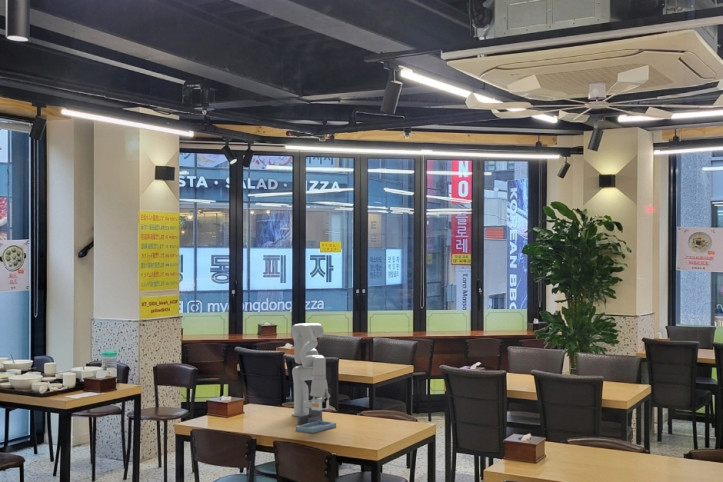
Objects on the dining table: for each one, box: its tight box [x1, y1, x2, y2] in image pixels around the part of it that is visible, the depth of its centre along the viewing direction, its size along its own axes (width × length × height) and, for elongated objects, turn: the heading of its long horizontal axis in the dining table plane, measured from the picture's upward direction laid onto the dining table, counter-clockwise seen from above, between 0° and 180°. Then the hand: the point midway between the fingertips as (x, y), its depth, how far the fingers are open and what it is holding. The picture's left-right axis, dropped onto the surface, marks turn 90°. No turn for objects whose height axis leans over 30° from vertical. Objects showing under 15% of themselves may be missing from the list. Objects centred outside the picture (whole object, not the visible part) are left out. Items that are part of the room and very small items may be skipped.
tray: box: [295, 420, 337, 434], centre depth 477 cm, size 21×13×2 cm, turn 143°
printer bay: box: [297, 407, 323, 426], centre depth 493 cm, size 12×10×10 cm
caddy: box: [303, 397, 330, 411], centre depth 478 cm, size 16×6×6 cm, turn 143°
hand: (320, 407), depth 480 cm, fingers closed on caddy, 6 cm apart
